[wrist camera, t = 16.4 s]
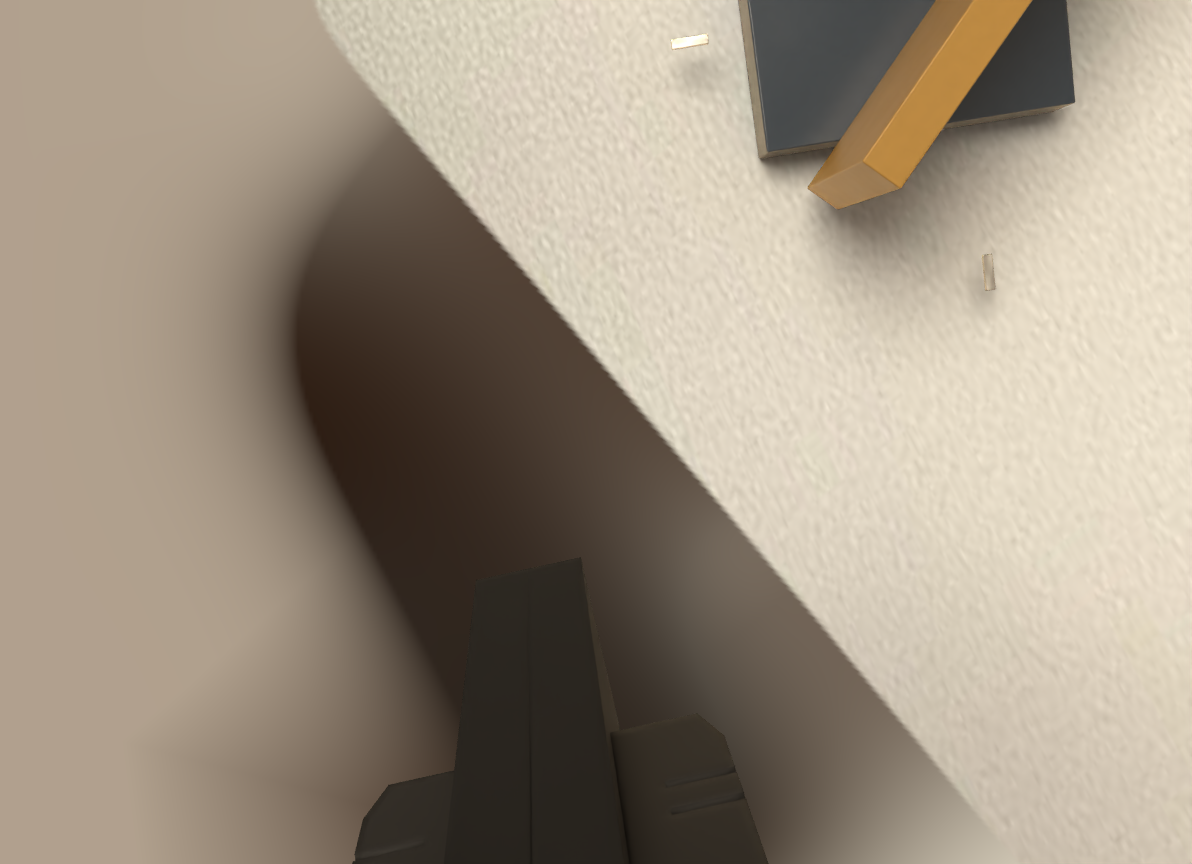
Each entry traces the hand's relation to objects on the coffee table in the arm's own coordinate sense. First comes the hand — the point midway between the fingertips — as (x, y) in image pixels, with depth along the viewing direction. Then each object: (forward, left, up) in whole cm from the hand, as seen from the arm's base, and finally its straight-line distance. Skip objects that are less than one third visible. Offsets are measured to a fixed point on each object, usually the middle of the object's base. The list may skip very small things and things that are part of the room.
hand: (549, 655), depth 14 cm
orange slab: (+4, +21, -26) cm, 34 cm away
